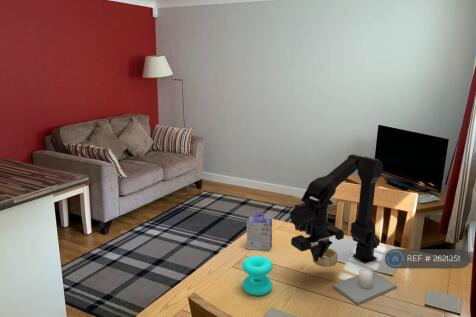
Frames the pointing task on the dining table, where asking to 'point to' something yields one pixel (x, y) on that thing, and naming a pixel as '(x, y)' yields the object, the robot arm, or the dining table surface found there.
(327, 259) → the ring
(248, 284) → the donuts
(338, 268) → the dining table surface
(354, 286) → the post plate
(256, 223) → the ink cartridge box
